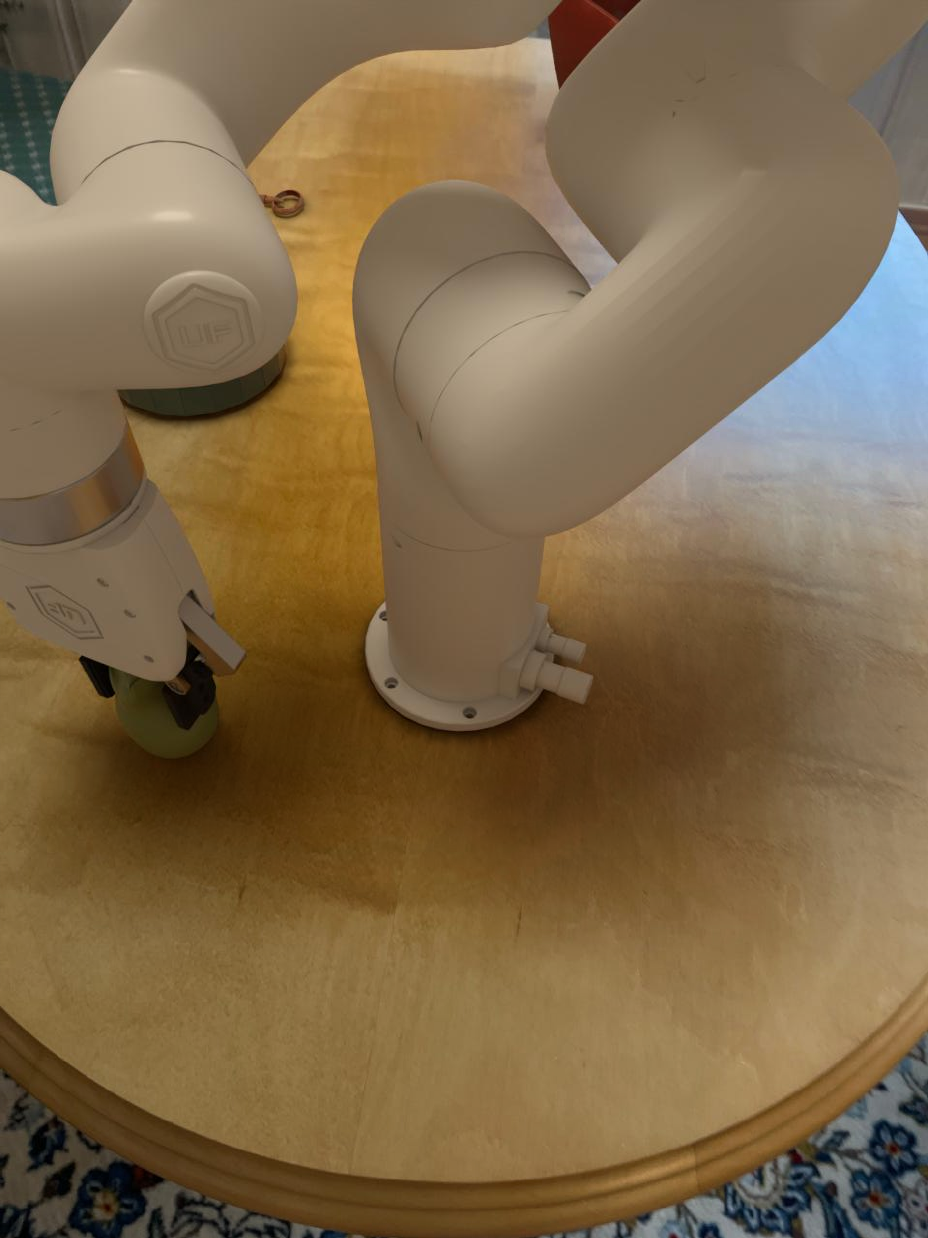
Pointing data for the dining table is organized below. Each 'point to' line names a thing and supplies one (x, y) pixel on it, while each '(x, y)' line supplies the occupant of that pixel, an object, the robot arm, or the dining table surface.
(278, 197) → the key
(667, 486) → the dining table surface
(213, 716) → the pear
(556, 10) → the flower pot
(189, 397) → the bowl
